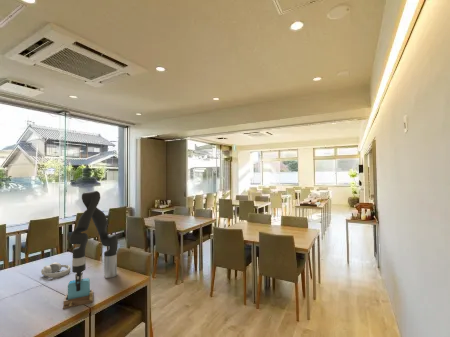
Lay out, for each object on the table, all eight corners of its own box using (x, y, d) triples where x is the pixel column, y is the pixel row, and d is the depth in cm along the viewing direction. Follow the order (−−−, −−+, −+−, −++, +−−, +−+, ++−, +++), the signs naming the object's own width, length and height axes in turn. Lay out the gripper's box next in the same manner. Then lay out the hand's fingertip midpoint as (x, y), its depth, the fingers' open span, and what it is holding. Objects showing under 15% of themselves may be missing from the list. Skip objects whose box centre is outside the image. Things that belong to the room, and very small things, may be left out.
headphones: (35, 277, 191) (55, 282, 187) (36, 267, 191) (57, 272, 187) (55, 268, 209) (74, 272, 205) (56, 259, 209) (75, 264, 205)
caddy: (66, 298, 159) (66, 289, 159) (93, 292, 166) (93, 284, 166) (62, 309, 147) (62, 299, 147) (92, 302, 154) (92, 293, 154)
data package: (89, 295, 161) (89, 277, 161) (89, 298, 157) (89, 280, 157) (69, 299, 156) (69, 281, 156) (67, 302, 152) (67, 283, 152)
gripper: (84, 266, 152) (84, 291, 152) (86, 259, 165) (86, 282, 165) (70, 268, 149) (70, 294, 148) (73, 260, 161) (73, 284, 161)
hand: (79, 288), depth 156 cm, fingers open, 8 cm apart
